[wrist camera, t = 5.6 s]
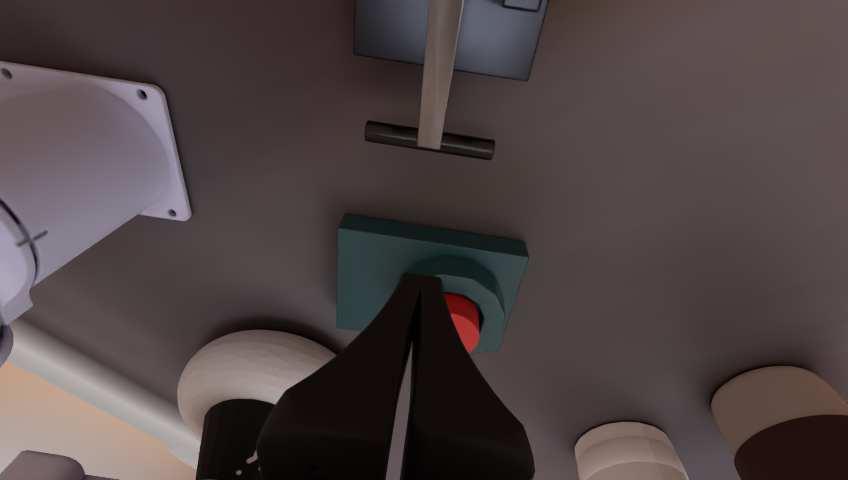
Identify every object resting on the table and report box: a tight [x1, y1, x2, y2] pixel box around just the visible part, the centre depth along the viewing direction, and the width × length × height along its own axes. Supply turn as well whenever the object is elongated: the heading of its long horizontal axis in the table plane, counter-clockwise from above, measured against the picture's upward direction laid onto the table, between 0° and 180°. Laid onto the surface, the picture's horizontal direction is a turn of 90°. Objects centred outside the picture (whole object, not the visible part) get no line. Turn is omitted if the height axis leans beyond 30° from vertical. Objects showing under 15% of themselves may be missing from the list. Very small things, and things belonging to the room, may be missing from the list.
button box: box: [337, 214, 529, 355], centre depth 24 cm, size 11×8×4 cm
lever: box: [365, 0, 495, 160], centre depth 14 cm, size 11×6×2 cm, turn 173°
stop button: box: [444, 292, 479, 353], centre depth 22 cm, size 4×4×2 cm
